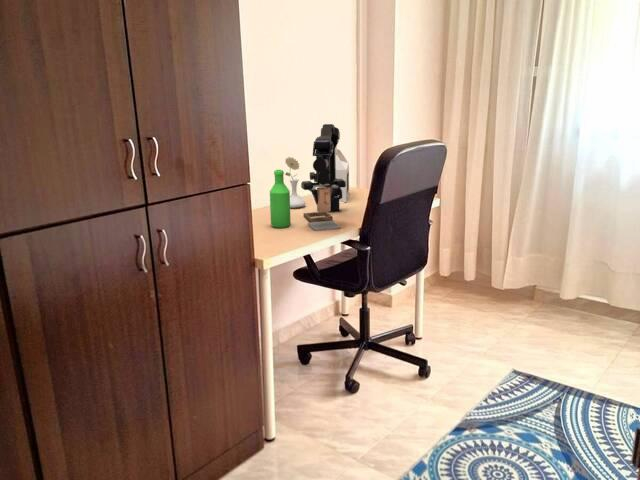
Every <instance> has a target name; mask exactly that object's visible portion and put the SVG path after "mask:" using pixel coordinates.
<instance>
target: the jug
mask: <svg viewBox="0 0 640 480" xmlns="http://www.w3.org/2000/svg"><path fill="white" fill-rule="evenodd" d="M316 190H317V197H318V204H316V212H327V213H330V212H329V211H331V189H330V187H316Z"/></svg>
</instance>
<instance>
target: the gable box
mask: <svg viewBox="0 0 640 480" xmlns="http://www.w3.org/2000/svg"><path fill="white" fill-rule="evenodd" d="M335 155H336V178H337V179H343V180H344V181H345V182H346V187H341V190H342V199H339V202H348V199H349V196H348V195H350V163H349V162H348V160H347V158H346V157H345V156H344V154H343V153H342V151H341V149H338V145H337V146H336V147H335ZM322 187H324V186H322ZM338 196H339V195H338ZM347 198H348V199H347Z"/></svg>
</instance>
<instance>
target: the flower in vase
mask: <svg viewBox="0 0 640 480" xmlns="http://www.w3.org/2000/svg"><path fill="white" fill-rule="evenodd" d="M285 164H286V166H287V167H288V168H289V171H291V169H292V170H293V171H296V170H299V169H300V163H299V162H298V160H297V159H295V158H294V157H291V156H287V157H286V158H285ZM289 171H287V172H285V173H284V176H288V177H291V178H290V179H288V181H289V183H290V185H291V193H290V209H293V208H294V209H297V208H301V207H304V206H305V205H306V204H307V202H306V200H304V199H303V198H302V197H301V196H300V195H298V192H297V185H298V182H299V181H300V179H299V178H294V177H296V176H297V175H298V173H297V174H294V175H293V176H292V174H291V172H289Z"/></svg>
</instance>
